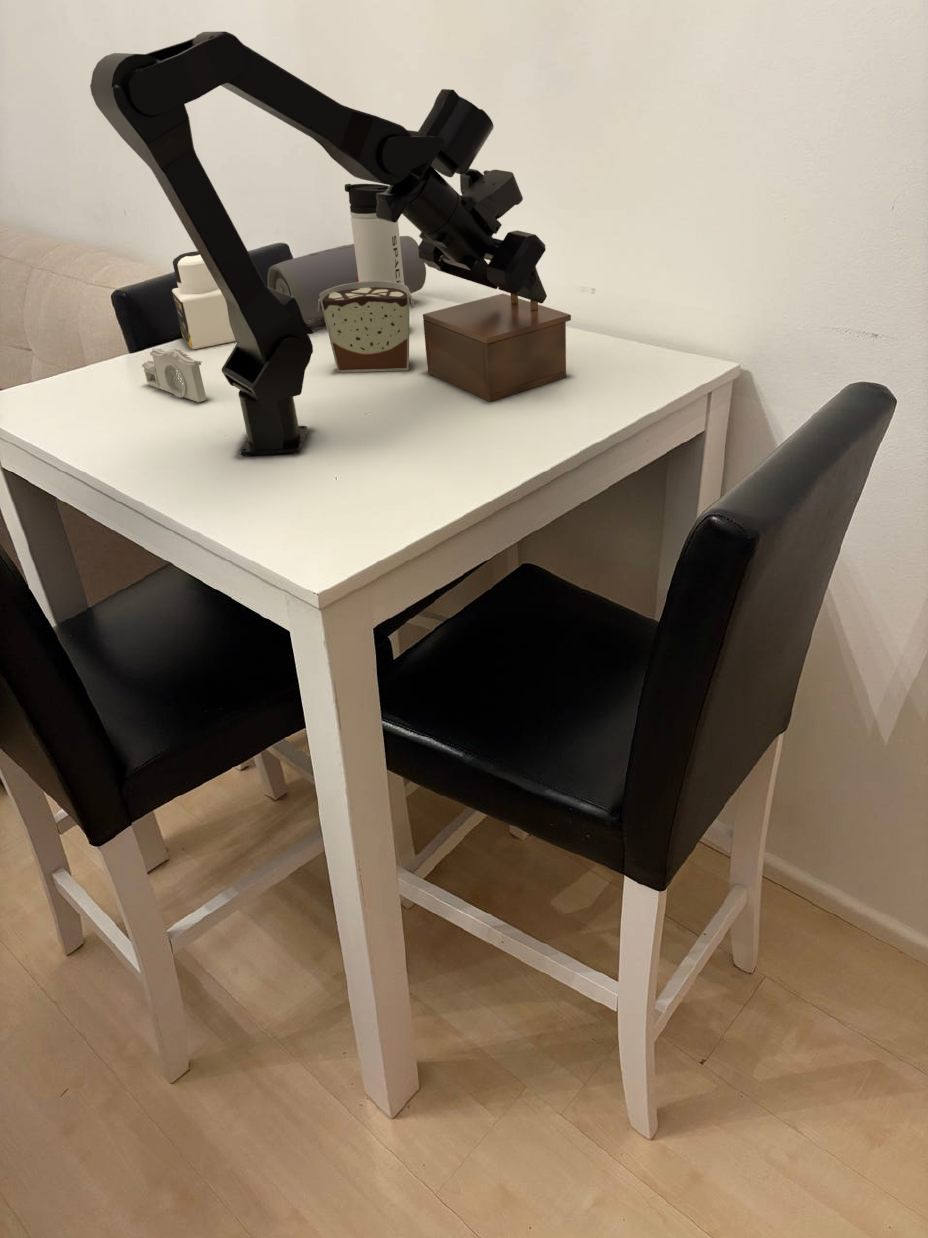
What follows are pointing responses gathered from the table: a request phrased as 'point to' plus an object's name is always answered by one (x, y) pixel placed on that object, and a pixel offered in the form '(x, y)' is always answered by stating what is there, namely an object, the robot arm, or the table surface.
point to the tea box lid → (496, 318)
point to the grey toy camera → (175, 374)
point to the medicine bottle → (200, 303)
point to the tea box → (496, 360)
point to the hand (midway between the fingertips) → (520, 292)
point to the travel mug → (374, 236)
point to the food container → (368, 325)
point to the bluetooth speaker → (335, 274)
